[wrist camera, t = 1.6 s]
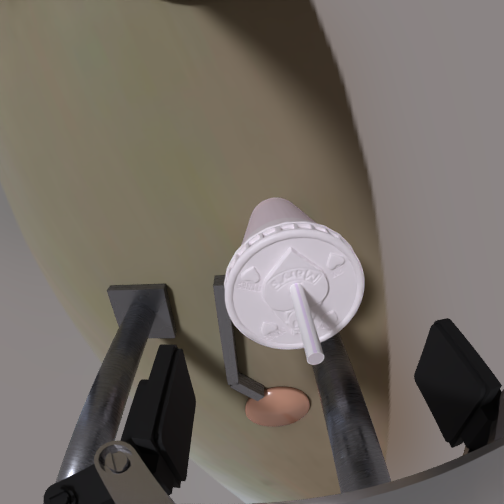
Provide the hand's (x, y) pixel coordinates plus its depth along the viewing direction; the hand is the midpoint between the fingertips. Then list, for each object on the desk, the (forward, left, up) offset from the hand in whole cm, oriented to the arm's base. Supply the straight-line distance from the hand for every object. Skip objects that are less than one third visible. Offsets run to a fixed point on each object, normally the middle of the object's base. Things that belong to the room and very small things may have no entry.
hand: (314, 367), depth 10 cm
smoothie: (-1, 0, -13) cm, 13 cm away
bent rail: (+10, -3, -13) cm, 17 cm away
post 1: (+6, -11, -13) cm, 19 cm away
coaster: (+20, 0, -13) cm, 24 cm away
